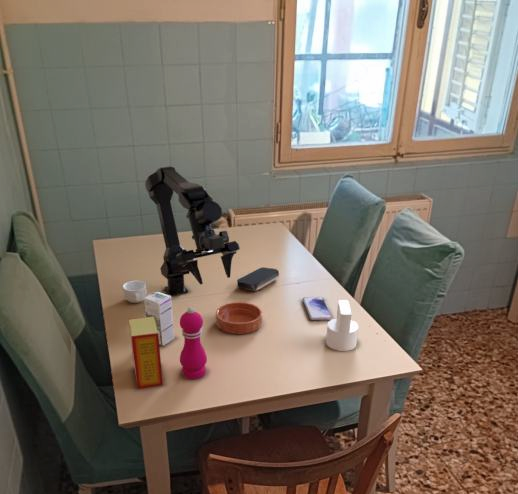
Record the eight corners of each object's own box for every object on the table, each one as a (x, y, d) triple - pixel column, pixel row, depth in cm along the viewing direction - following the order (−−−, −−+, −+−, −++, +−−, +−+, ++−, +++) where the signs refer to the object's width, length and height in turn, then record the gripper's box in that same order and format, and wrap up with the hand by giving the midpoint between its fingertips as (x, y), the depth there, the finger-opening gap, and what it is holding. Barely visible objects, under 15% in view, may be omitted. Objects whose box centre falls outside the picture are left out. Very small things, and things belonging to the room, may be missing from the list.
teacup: (123, 296, 193) (121, 282, 190) (145, 293, 195) (144, 279, 192) (126, 309, 185) (124, 294, 182) (150, 306, 187) (148, 292, 184)
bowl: (209, 318, 180) (208, 307, 178) (248, 309, 186) (248, 298, 184) (228, 339, 170) (228, 327, 168) (269, 328, 176) (270, 317, 173)
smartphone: (322, 296, 193) (332, 317, 180) (322, 299, 193) (332, 320, 181) (302, 297, 192) (310, 318, 179) (301, 299, 193) (310, 320, 180)
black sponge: (254, 295, 195) (254, 285, 193) (234, 288, 199) (234, 278, 198) (281, 279, 207) (281, 270, 205) (262, 273, 211) (262, 264, 209)
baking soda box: (134, 368, 155) (128, 317, 147) (158, 365, 157) (153, 314, 149) (137, 388, 148) (131, 335, 139) (162, 385, 149) (158, 332, 141)
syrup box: (175, 338, 170) (172, 294, 162) (162, 347, 165) (158, 302, 158) (160, 333, 172) (157, 289, 165) (147, 341, 168) (143, 297, 160)
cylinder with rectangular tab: (324, 334, 173) (327, 299, 167) (354, 335, 173) (358, 300, 166) (326, 350, 165) (330, 314, 159) (357, 351, 165) (362, 315, 159)
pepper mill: (196, 383, 150) (193, 317, 140) (175, 374, 153) (170, 309, 143) (212, 370, 155) (210, 305, 145) (191, 362, 159) (188, 298, 148)
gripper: (182, 228, 155) (197, 284, 157) (241, 217, 164) (254, 270, 165) (169, 237, 165) (183, 289, 167) (225, 226, 174) (238, 275, 175)
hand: (215, 280), depth 168 cm, fingers open, 9 cm apart
